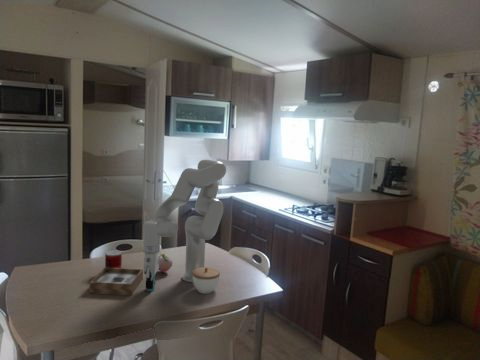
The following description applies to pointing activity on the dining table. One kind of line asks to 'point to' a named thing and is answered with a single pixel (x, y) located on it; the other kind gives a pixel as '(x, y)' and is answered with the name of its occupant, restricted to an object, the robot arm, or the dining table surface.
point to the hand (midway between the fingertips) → (150, 286)
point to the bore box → (116, 281)
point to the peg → (153, 284)
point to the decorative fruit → (164, 263)
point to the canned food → (113, 259)
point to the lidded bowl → (205, 279)
